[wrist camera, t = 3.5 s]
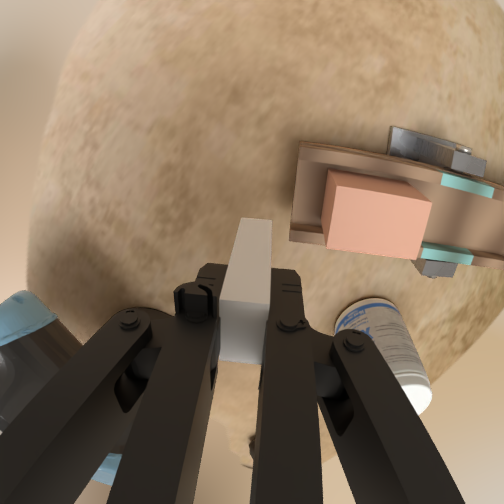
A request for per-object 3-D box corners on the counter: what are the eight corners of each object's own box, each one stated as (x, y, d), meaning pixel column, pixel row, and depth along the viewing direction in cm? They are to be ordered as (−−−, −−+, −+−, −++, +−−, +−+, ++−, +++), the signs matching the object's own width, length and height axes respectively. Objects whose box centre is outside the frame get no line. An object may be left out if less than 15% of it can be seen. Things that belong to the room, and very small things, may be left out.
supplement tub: (344, 291, 37) (371, 383, 24) (408, 297, 37) (450, 380, 24) (325, 346, 42) (337, 434, 29) (383, 349, 42) (409, 430, 29)
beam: (290, 211, 32) (288, 243, 25) (298, 135, 28) (300, 146, 22) (508, 246, 30) (540, 277, 23) (526, 189, 26) (563, 212, 19)
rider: (320, 219, 26) (326, 248, 21) (328, 168, 24) (337, 185, 19) (396, 230, 25) (416, 260, 20) (407, 181, 23) (432, 202, 18)
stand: (369, 239, 34) (392, 278, 26) (390, 125, 28) (427, 135, 20) (439, 247, 33) (471, 283, 26) (464, 145, 27) (508, 162, 20)
